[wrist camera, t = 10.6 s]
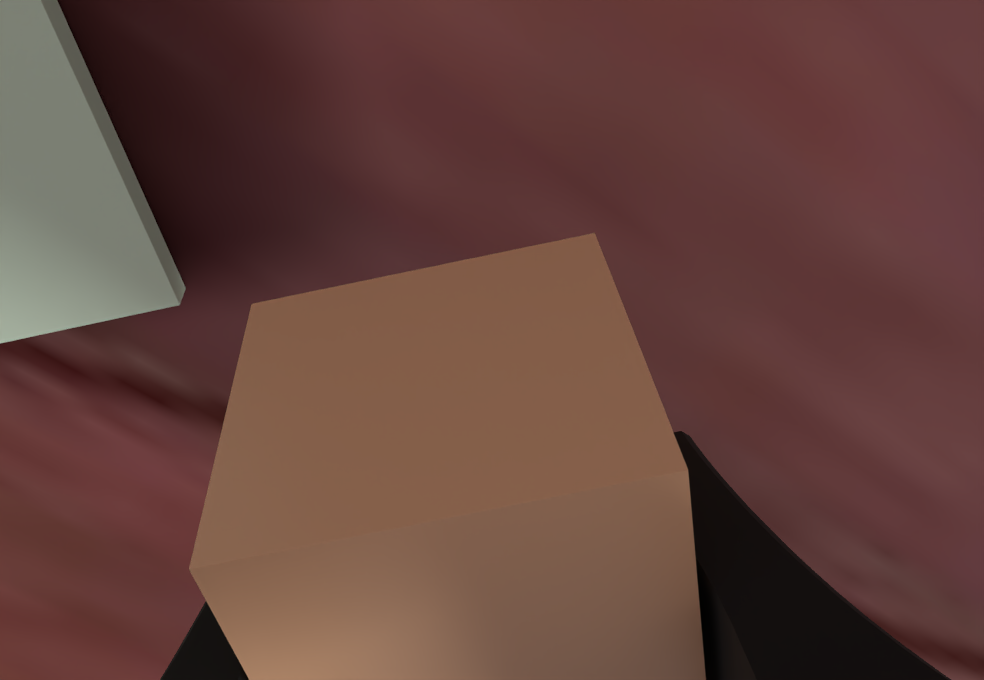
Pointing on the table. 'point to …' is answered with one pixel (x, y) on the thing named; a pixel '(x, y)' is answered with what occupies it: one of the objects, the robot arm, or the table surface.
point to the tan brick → (452, 483)
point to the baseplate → (67, 191)
